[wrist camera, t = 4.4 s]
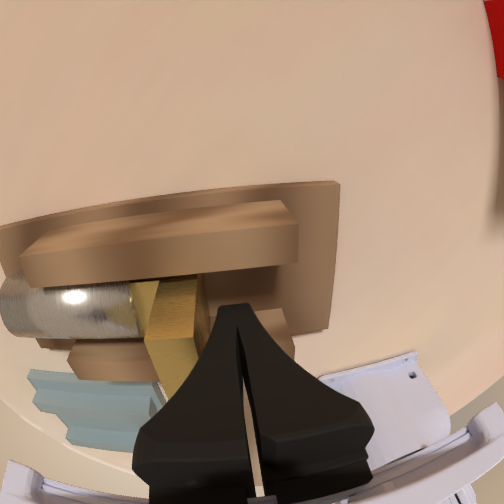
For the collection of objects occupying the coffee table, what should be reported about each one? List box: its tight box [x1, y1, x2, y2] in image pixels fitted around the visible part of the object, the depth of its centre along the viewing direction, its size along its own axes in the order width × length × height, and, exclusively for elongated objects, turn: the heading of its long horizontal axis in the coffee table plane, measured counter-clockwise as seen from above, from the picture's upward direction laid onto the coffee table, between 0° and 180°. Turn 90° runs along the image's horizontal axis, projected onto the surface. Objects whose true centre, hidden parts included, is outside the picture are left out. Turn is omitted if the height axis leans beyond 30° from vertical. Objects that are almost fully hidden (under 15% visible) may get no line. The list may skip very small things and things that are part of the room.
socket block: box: [0, 181, 340, 382], centre depth 13 cm, size 20×9×4 cm, turn 94°
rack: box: [27, 370, 166, 453], centre depth 19 cm, size 12×10×3 cm
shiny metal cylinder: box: [0, 273, 145, 339], centre depth 12 cm, size 8×4×4 cm, turn 94°
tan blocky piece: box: [128, 273, 209, 399], centre depth 12 cm, size 3×4×6 cm
